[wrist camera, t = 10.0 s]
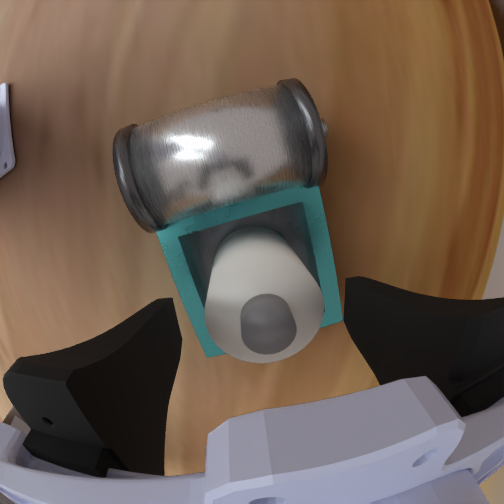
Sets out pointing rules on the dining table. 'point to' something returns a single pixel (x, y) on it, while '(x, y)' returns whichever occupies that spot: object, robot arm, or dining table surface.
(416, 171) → the dining table surface
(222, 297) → the white capped bottle
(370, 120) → the dining table surface
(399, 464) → the robot arm
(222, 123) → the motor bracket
